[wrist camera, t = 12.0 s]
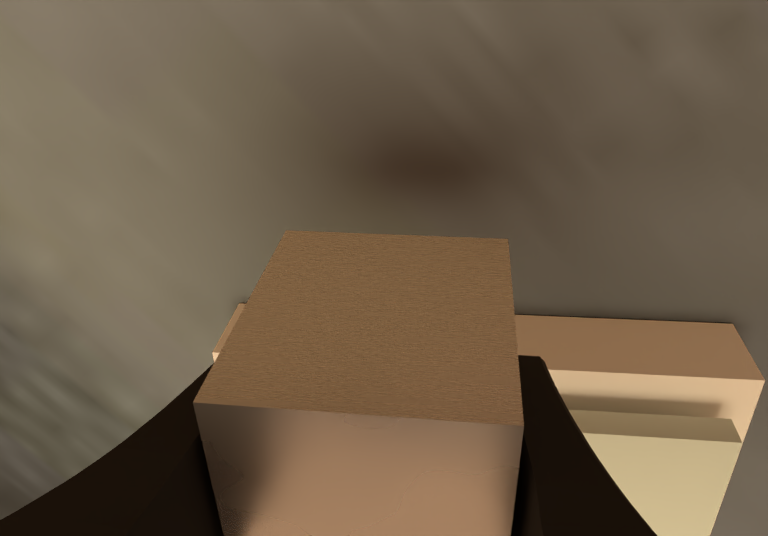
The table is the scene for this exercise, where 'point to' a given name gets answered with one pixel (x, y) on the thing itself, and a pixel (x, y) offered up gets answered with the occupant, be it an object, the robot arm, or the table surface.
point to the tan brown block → (369, 391)
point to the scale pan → (666, 465)
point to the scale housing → (638, 365)
